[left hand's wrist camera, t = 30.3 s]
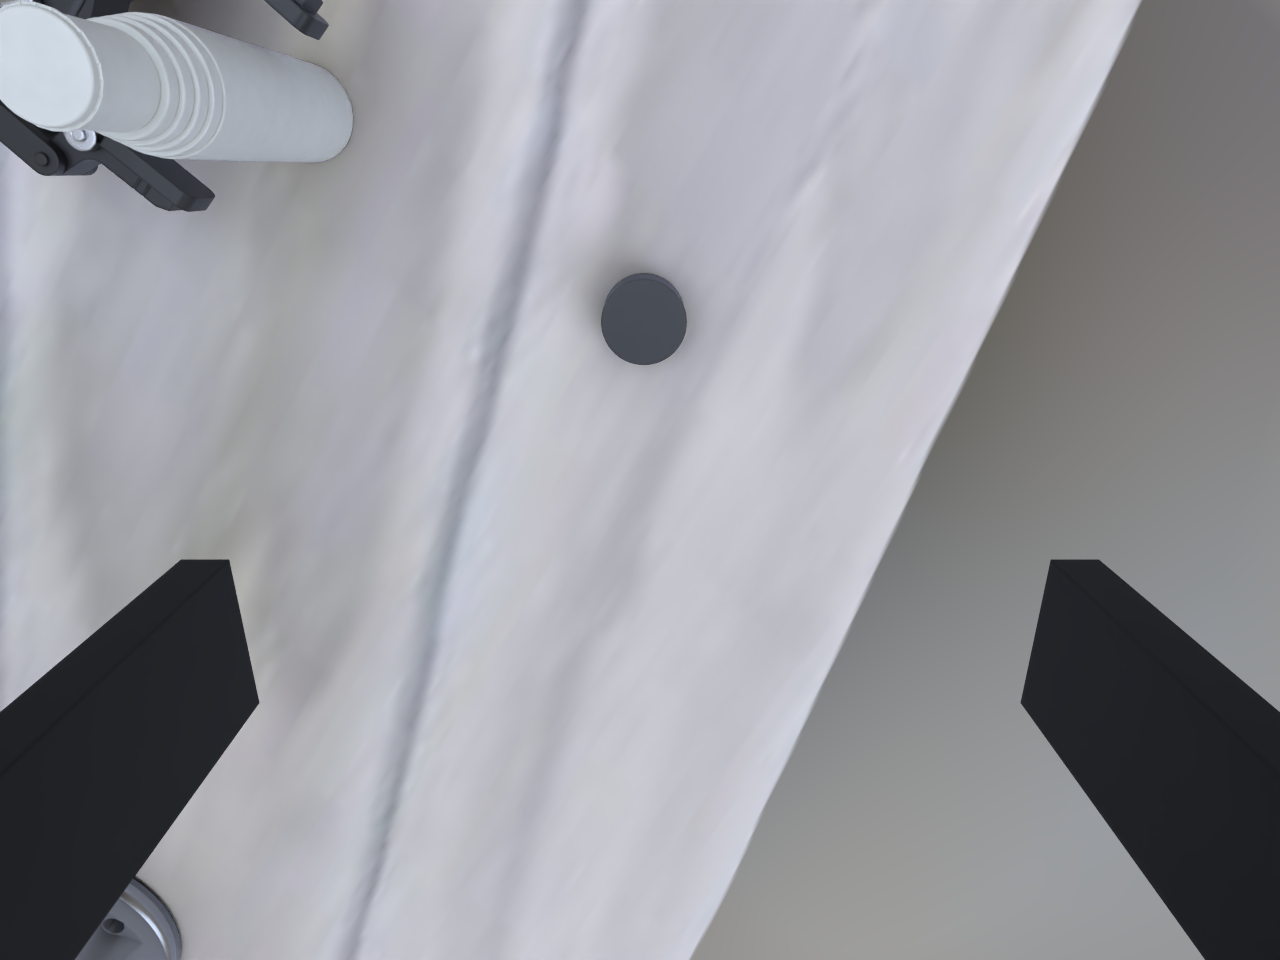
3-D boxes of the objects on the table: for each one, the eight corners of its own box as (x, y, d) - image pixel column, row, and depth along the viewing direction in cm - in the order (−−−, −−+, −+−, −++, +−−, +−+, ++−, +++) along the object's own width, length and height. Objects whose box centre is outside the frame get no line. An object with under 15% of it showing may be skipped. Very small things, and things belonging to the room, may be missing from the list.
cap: (671, 262, 39) (672, 268, 37) (693, 340, 41) (696, 350, 39) (592, 287, 40) (589, 294, 38) (618, 364, 41) (616, 375, 39)
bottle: (360, 79, 36) (127, 5, 20) (345, 174, 38) (115, 178, 21) (267, 48, 36) (-51, -55, 19) (255, 145, 38) (-50, 126, 21)
